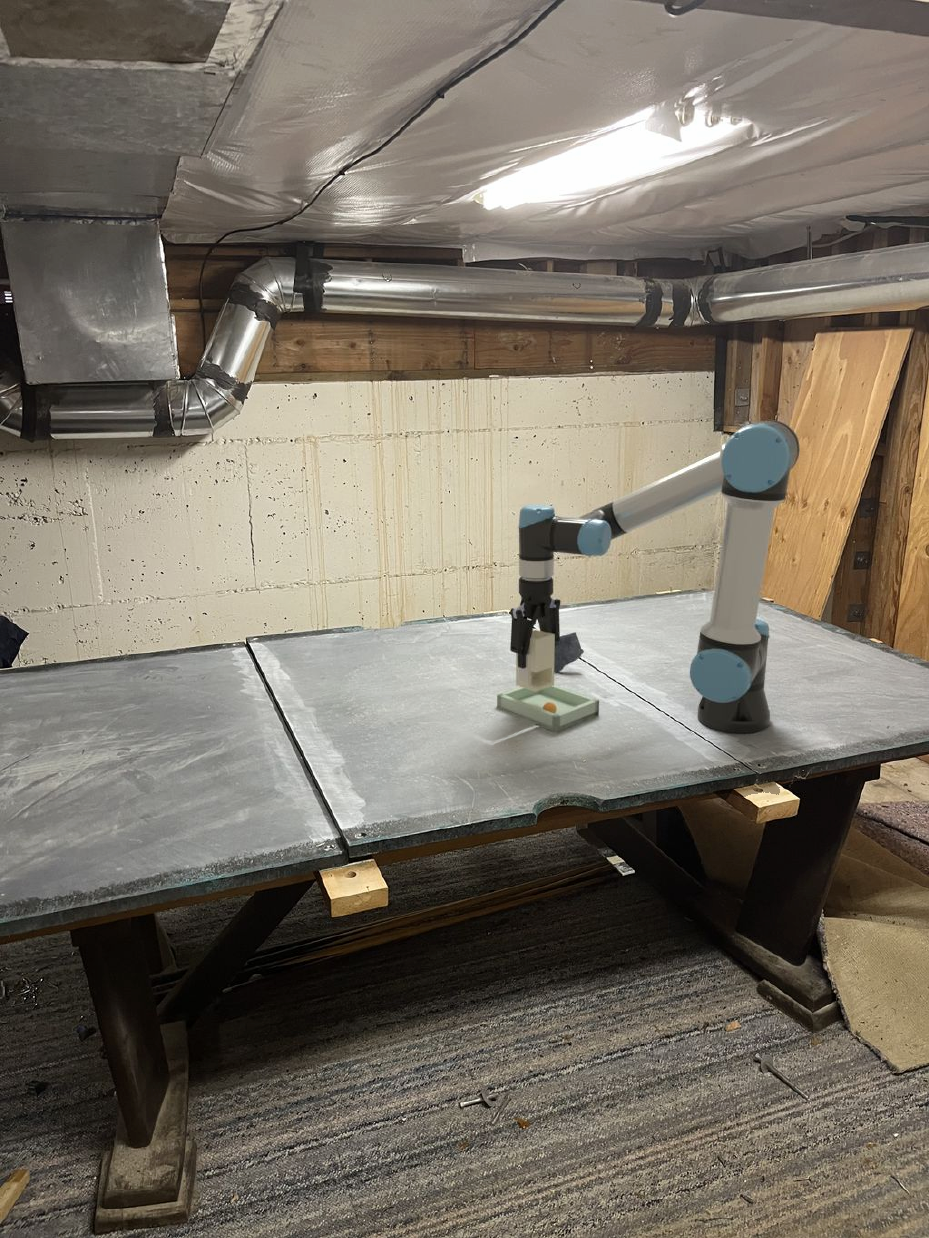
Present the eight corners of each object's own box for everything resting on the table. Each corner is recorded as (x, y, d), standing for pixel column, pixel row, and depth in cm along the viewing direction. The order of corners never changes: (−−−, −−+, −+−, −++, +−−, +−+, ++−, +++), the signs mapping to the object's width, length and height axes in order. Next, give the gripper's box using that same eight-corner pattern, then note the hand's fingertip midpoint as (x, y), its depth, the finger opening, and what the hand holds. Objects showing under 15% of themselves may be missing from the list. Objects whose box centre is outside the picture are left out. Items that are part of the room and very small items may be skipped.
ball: (552, 710, 199) (560, 705, 197) (549, 720, 197) (556, 715, 195) (542, 702, 198) (550, 697, 196) (538, 712, 196) (546, 707, 194)
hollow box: (554, 685, 201) (554, 634, 198) (535, 691, 197) (535, 640, 194) (534, 678, 205) (535, 628, 202) (516, 685, 202) (516, 634, 198)
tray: (598, 714, 199) (599, 700, 198) (556, 732, 191) (556, 717, 190) (539, 693, 212) (539, 679, 211) (497, 709, 203) (497, 694, 202)
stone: (535, 678, 222) (536, 640, 219) (524, 671, 227) (525, 633, 224) (584, 671, 227) (585, 633, 224) (573, 663, 232) (573, 627, 229)
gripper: (553, 566, 203) (551, 663, 209) (492, 581, 191) (492, 683, 197) (578, 572, 197) (576, 671, 204) (517, 587, 185) (517, 692, 192)
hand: (535, 677), depth 201 cm, fingers closed on hollow box, 6 cm apart
